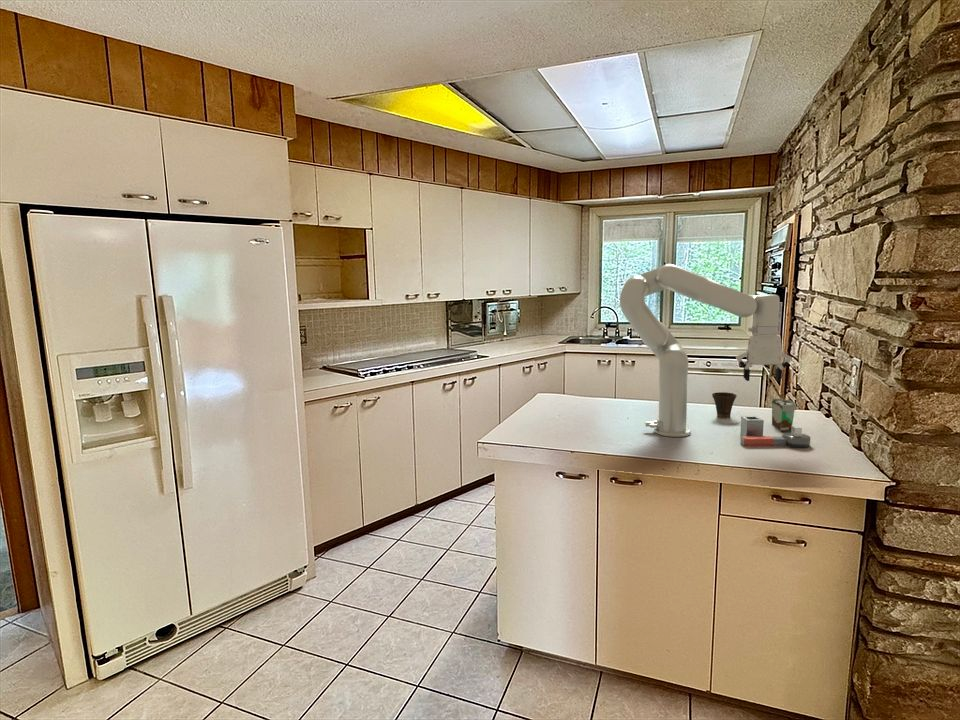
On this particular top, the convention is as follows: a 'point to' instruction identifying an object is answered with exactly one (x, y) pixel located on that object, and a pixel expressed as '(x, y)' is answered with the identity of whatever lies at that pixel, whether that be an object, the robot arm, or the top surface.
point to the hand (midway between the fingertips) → (762, 380)
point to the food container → (783, 414)
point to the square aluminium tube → (751, 426)
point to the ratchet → (779, 440)
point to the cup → (724, 403)
